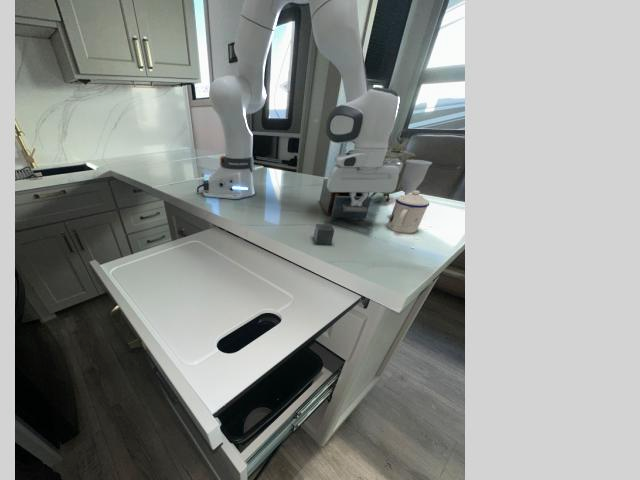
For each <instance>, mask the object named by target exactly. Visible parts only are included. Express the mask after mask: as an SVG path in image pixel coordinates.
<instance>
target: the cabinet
mask: <svg viewBox="0 0 640 480" xmlns="http://www.w3.org/2000/svg"><path fill="white" fill-rule="evenodd" d="M327 182H328V178H323V181H322V185H321V186H322V187H321V190H320V191H321V192H320V197H319V202H320V205H321V206H322V208H323V210H324V212H325V214H326V215H327V216H331V214H332V212H331V210H330V209H331V204H332V200H333V195H334V193H350V192H330V191H329V190H328V189H327ZM356 193H362V192H356ZM369 196H370V192H369V193H368V196H367V197H369Z"/></svg>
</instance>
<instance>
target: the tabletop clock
mask: <svg viewBox="0 0 640 480" xmlns="http://www.w3.org/2000/svg"><path fill="white" fill-rule="evenodd" d="M405 131H406V132H407V137H401V138H399V137H400V135H401V134H402V133H403V132H405ZM410 135H411V130H410V129H409V128H403V129H401V130H400V131H399V132H398V134H397V136H396V141H397V142H398V143H395V144H394V145H393V146H392V147H391V149H387V151H386V155H385V158H389V159H395V158H397V159H399V160H400V161H401V162H402V168H401V171H400V173H399V176H398V182H397V186H396V189H395V190H394V191H393V192H392V193H381V194H383V197H384V198H385V199H384V201H385V202H386V203H389V202H390V201H391V198H390V195H392V194H396V193H399V192H403V189H402V176H403V173H404V170H405V167H406V160H418V157H417V155H415V153H414V152H410V151H407V150H408V147H407V145H406V144H405V143H404V142H406V141H407V140H408V139H409V138H410ZM391 163H392V162H391ZM398 163H400V162H398ZM375 195H377V193H372V194H371V196H370V195H369V196H368V197H371V200H372V199H373V197H374V196H375Z"/></svg>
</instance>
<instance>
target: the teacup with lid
mask: <svg viewBox="0 0 640 480" xmlns="http://www.w3.org/2000/svg"><path fill="white" fill-rule="evenodd" d="M429 206H430V201H429V200H428V199H427V198H425V197H424V196H423V195H421V192H420V190H416V189H415V190H414V191H413V192H412V193H409V194H407V195H405V194H401V195H399V196H398V197H396V199H395V204H394V206H393V208H392V212H391V214H390V216H391V217H390V216H389V220H388V223H387V227H388V229H390V230H391V231H394V232H397V233H401V234H402V233H403V234H414V233H415V232H417V231H418V229H419V227H420V224H421V222H422V220H423V218H424V215H425V213H426V211H427V208H428V207H429Z"/></svg>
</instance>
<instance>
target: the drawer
mask: <svg viewBox="0 0 640 480" xmlns="http://www.w3.org/2000/svg"><path fill="white" fill-rule="evenodd" d="M361 196H362V194H361V193H356V196H354V199H355V200H359V199H360V197H361ZM371 198H372V197H371V196H370V197H369V196H368V197H366V198H365V200H364V201H362V205H361V207H351V197H350V193H334V195H333V200H332V204H331V209H330V210H331V212H332V214H331V215H330V216H331V218H343V219H345V218H346V219H347V218H348V219H367V214H368V211H369V208H370V205H371V201H372V199H371Z"/></svg>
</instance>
